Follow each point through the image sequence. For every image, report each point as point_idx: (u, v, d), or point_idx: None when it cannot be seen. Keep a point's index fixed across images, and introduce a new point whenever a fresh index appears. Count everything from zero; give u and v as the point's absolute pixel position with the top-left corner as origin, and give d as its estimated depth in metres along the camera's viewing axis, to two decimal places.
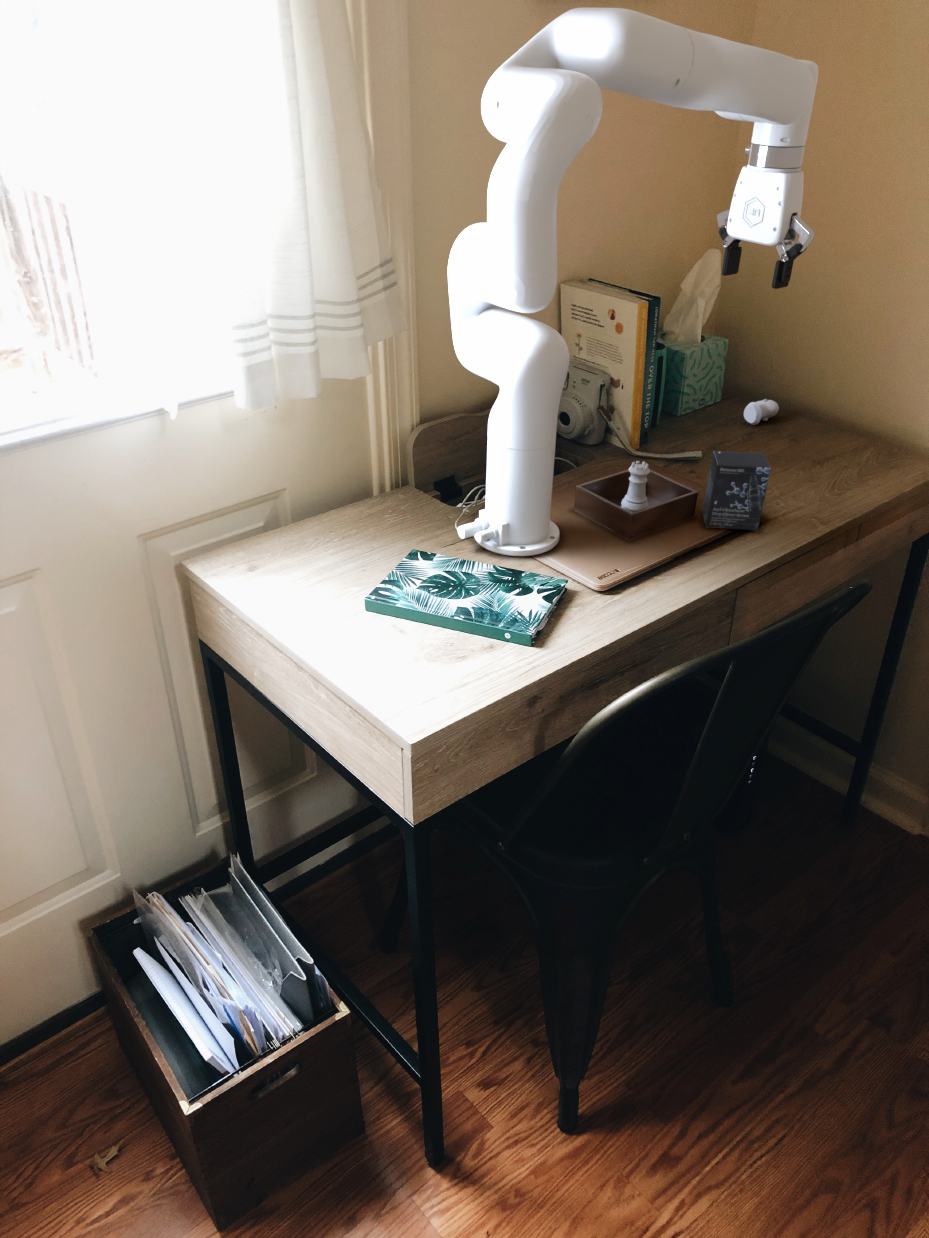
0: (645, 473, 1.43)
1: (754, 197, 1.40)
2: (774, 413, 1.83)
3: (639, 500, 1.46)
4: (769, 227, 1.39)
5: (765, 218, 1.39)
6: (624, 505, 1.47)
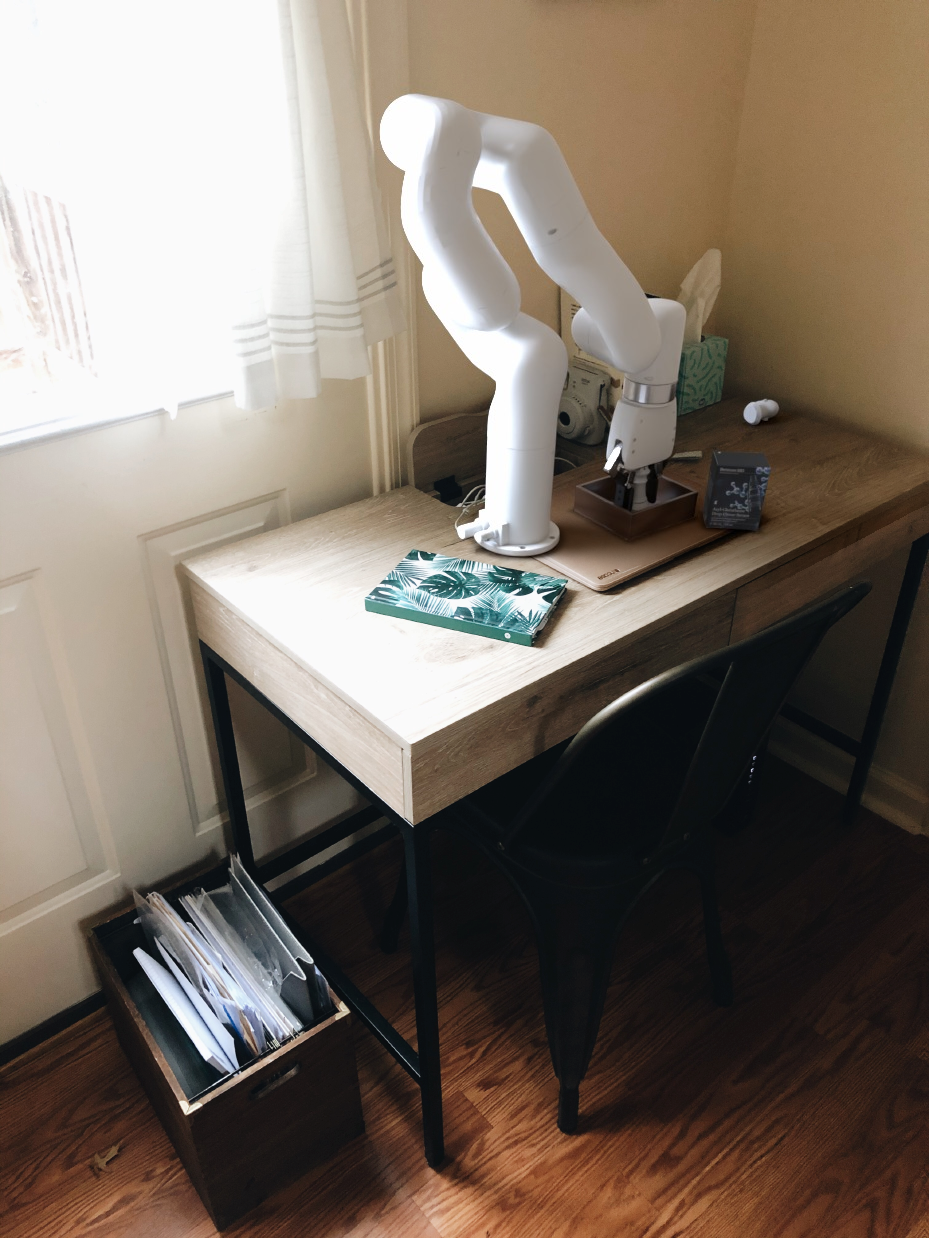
0: (645, 473, 1.43)
1: None
2: (774, 413, 1.83)
3: (639, 500, 1.46)
4: None
5: None
6: None
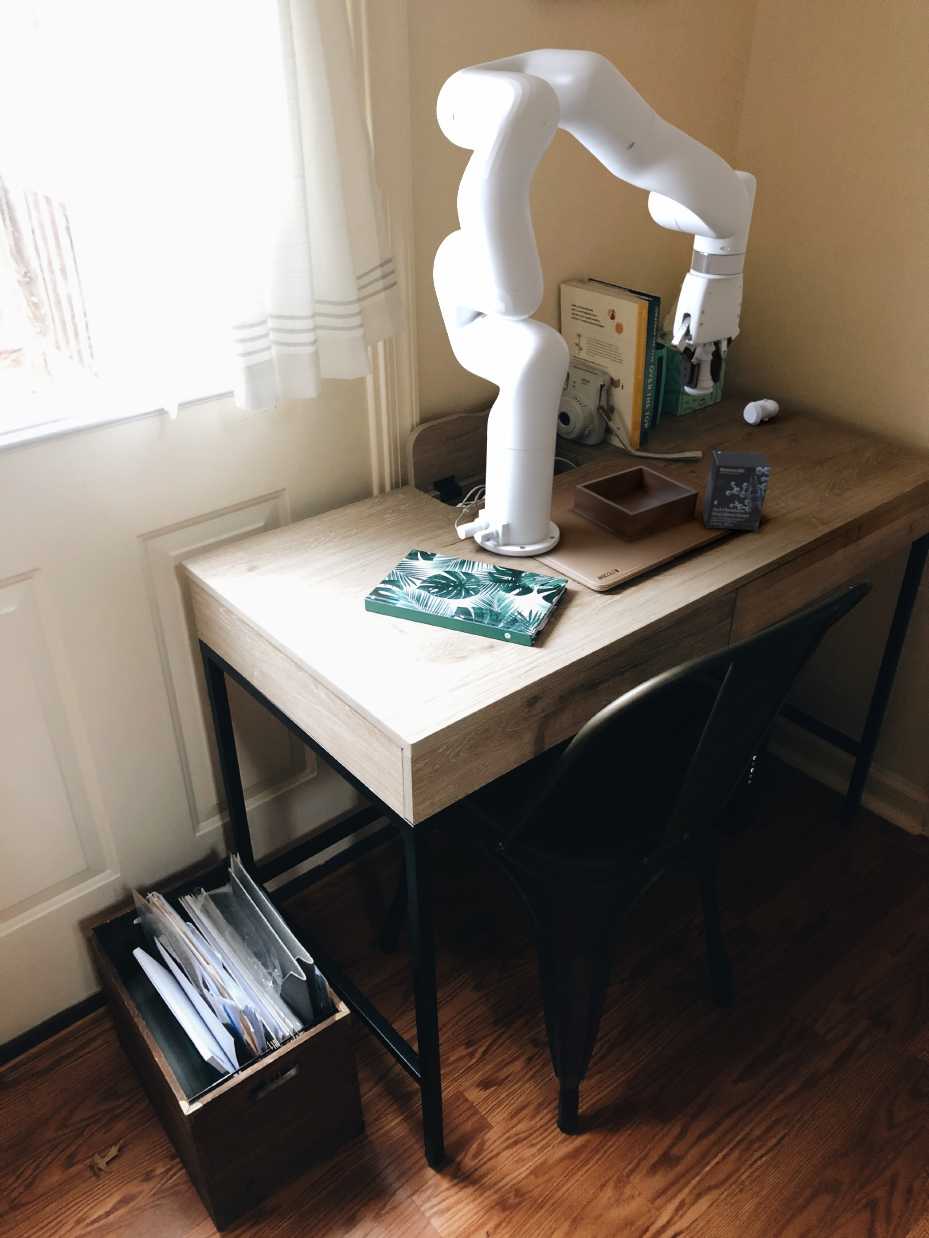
0: (711, 349, 1.47)
1: None
2: (774, 413, 1.83)
3: (704, 378, 1.49)
4: None
5: None
6: None
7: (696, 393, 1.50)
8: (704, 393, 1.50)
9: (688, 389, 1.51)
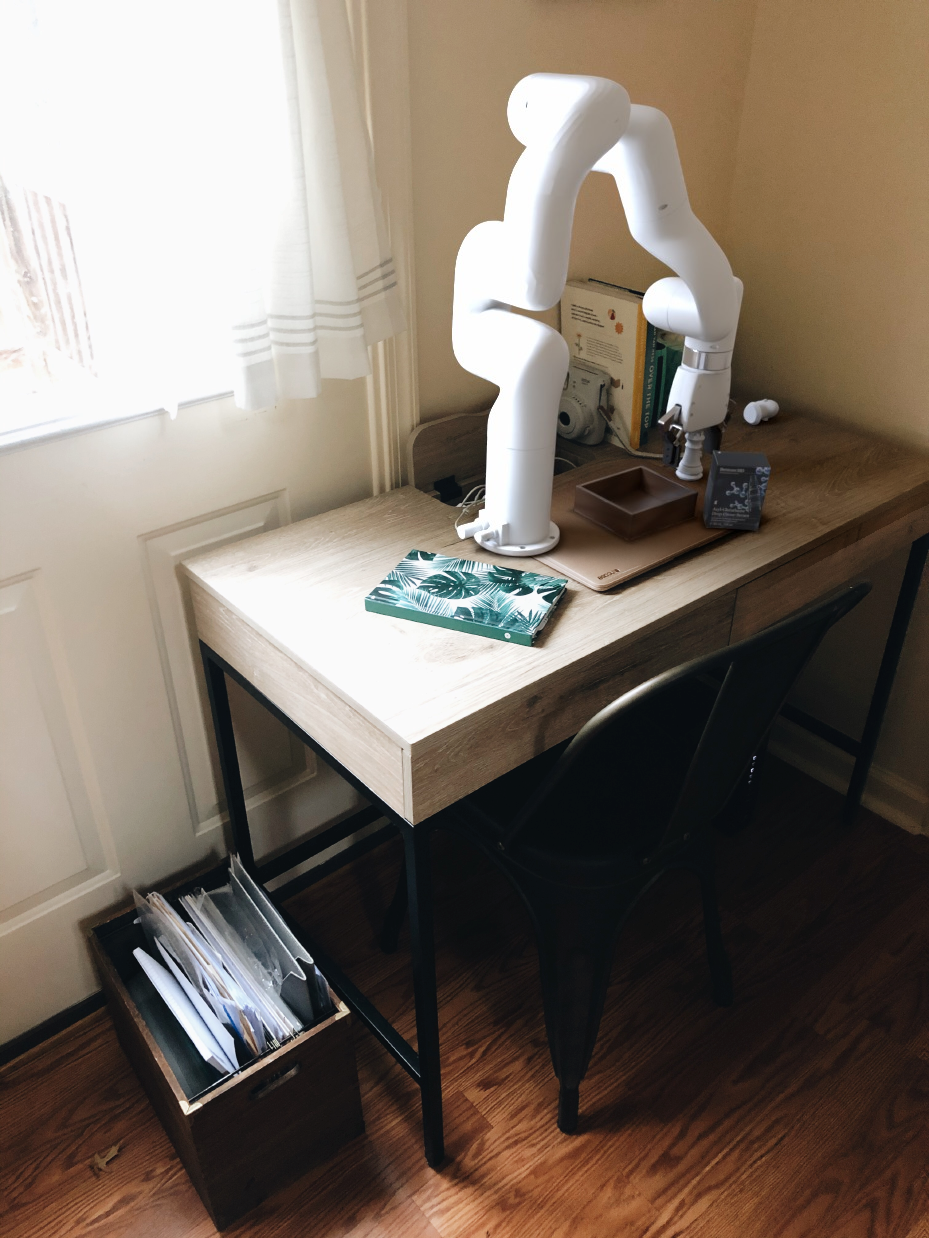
0: (701, 439, 1.56)
1: None
2: (774, 413, 1.83)
3: (694, 465, 1.58)
4: None
5: None
6: (680, 469, 1.59)
7: (687, 479, 1.59)
8: (694, 479, 1.59)
9: (679, 474, 1.60)
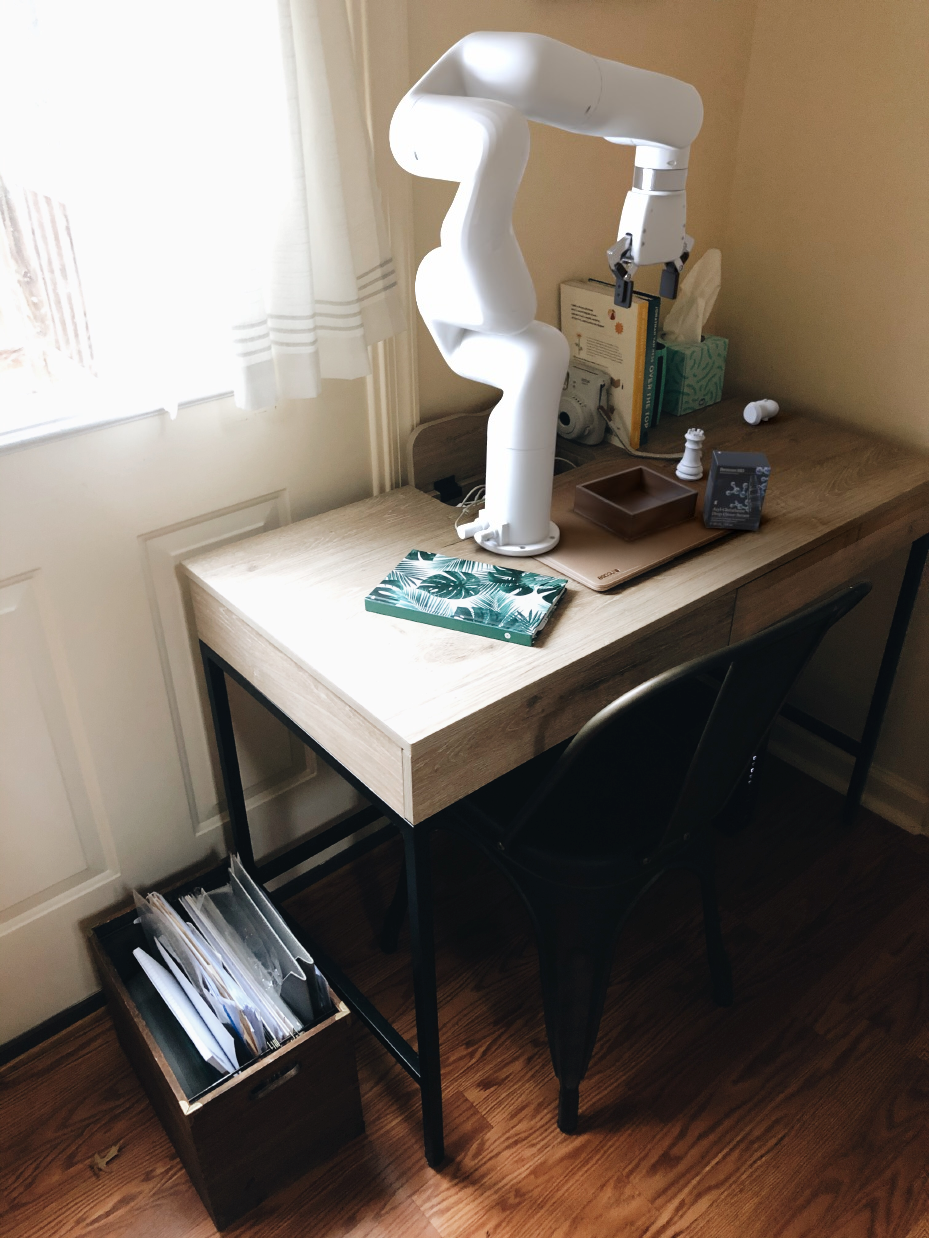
0: (701, 439, 1.56)
1: None
2: (774, 413, 1.83)
3: (694, 465, 1.58)
4: None
5: None
6: (680, 469, 1.59)
7: (687, 479, 1.59)
8: (694, 479, 1.59)
9: (679, 474, 1.60)
